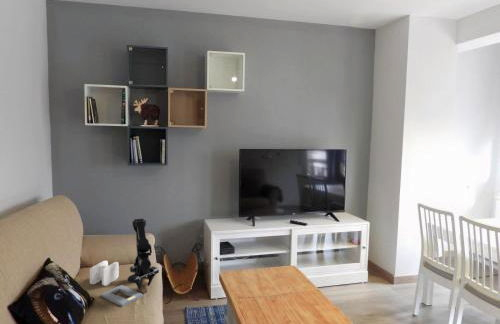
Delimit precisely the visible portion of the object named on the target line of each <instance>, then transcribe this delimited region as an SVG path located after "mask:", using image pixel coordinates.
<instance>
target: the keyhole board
mask: <svg viewBox="0 0 500 324" xmlns="http://www.w3.org/2000/svg"><path fill="white" fill-rule="evenodd" d="M117 291H118V292H120V291H121V292H120V293H122V292H123V293H122V294H123V295H124V294H125V295H124V296H126V295H127V297H128V298H124V297H122V296H120V295H118V294H116V293H118V292H117ZM115 292H116V293H115ZM113 293H114V294H113ZM100 296H101V297H102V298H104V299H106V300H108V301H110V302H112V303H114V304H116V305H118V306H120V307H125V306H128V305H129V304H131V303H133V302H135V301H137V300H139V299H142V298H143V297H144V294H143V293H141V292H139V291H136V290H135V289H132V288H130V287H128V286H126V285H123V284H121V285H119V286H116V287H114V288H112V289H109V290H107V291H105V292H103V293H100Z"/></svg>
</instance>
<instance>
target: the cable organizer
mask: <svg viewBox="0 0 500 324" xmlns="http://www.w3.org/2000/svg"><path fill="white" fill-rule="evenodd" d="M119 275H120V271H119V262H118V261H114V262H112V263H111V264H109V261H108V260H102V261H100V262H99V263H97V264H95V265H93V266H91V267H90V269H89V284H90V285H97V284H98V283H100V281H101V285H102V286H103V287H104V286H105V287H107V286H109V285H110V284H111V283H113V282H114V281H116V280H117V279H118V278H119Z"/></svg>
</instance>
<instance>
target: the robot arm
mask: <svg viewBox="0 0 500 324" xmlns="http://www.w3.org/2000/svg"><path fill="white" fill-rule="evenodd" d="M146 226H147V220H146V219H144V218H134V219H133V220H131V227H132V230H133V231H134V232H135V243H136V256H135V258H134V262H133V265H132V266H130V268H129V271H130V273H132V274H131V275H129V276H127V281H128V282H129V283H131V284H136V287H137V288H138V289H137V290H139V291H141V285H142V280H140V279H142V278H148V279H149V283H148V284H147V287H149V286H150V285H151V283H152V281H153V279H154V278H155V276H156V275H157V274H159V273H160V269H159V267H156V266H152V264H151V263H152V262H151V260H150V256H152V253H153V251H152V250H153V249H152V244H151V243H150V242H149V241H150V240H149V239H147V237H146V235H147V234H146V229H145V228H146Z"/></svg>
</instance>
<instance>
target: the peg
mask: <svg viewBox="0 0 500 324" xmlns="http://www.w3.org/2000/svg"><path fill="white" fill-rule="evenodd" d="M140 280H142V285H141V290H140V293H141V294H143V293H144V294H147V293H148V285H147V284H148V283H149V279H148V278H142V279H140Z"/></svg>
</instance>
